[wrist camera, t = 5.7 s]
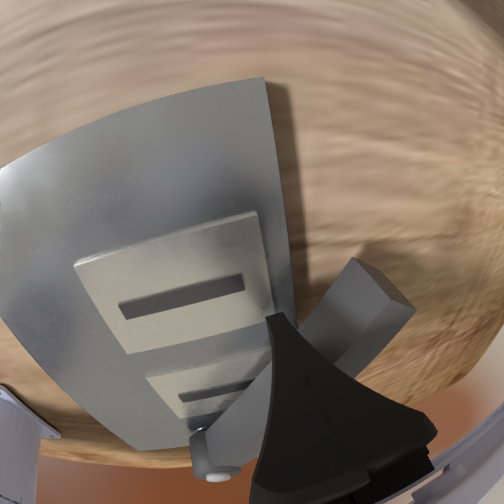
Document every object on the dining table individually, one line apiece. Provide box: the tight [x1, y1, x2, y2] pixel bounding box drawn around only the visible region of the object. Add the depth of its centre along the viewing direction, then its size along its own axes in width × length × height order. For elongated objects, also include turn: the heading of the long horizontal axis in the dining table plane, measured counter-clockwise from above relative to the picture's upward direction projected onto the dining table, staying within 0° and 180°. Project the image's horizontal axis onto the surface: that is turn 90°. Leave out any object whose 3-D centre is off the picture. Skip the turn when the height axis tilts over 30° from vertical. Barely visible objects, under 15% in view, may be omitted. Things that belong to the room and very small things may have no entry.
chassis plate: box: [0, 77, 297, 451], centre depth 13 cm, size 14×22×1 cm, turn 10°
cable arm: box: [189, 257, 417, 482], centre depth 13 cm, size 3×18×3 cm, turn 150°
